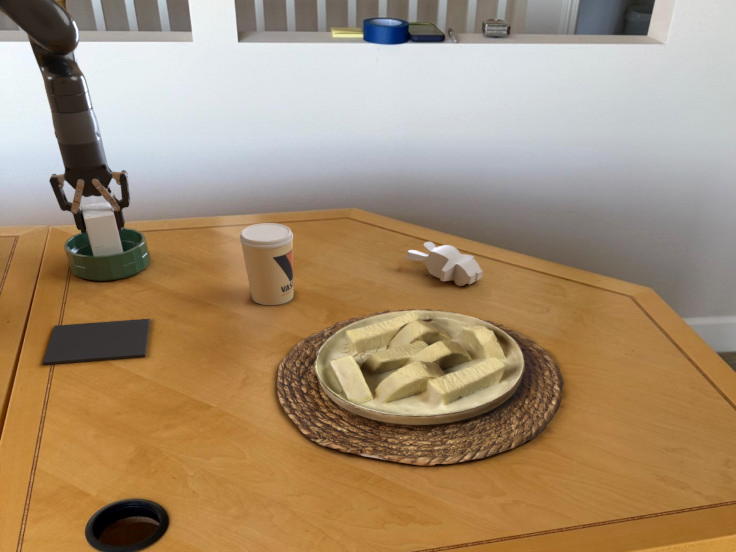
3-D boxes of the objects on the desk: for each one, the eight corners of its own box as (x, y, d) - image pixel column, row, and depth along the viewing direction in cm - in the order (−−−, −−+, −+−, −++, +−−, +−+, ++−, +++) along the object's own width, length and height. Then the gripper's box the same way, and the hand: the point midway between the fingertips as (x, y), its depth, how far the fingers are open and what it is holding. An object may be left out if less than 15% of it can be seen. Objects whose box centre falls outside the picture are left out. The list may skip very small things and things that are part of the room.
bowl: (66, 285, 147) (58, 259, 144) (76, 253, 158) (69, 229, 155) (148, 279, 149) (142, 254, 146) (152, 249, 161) (147, 224, 157)
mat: (43, 365, 125) (42, 362, 124) (55, 328, 134) (54, 325, 134) (145, 357, 127) (144, 354, 127) (149, 321, 137) (149, 318, 136)
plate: (576, 333, 134) (582, 296, 129) (539, 495, 102) (546, 455, 98) (331, 301, 143) (329, 266, 138) (228, 441, 111) (220, 402, 107)
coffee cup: (290, 309, 140) (284, 243, 132) (241, 305, 141) (232, 239, 133) (303, 287, 147) (298, 223, 139) (256, 284, 148) (248, 220, 140)
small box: (127, 269, 152) (114, 214, 145) (97, 273, 150) (83, 218, 143) (122, 254, 157) (110, 201, 150) (94, 258, 156) (80, 204, 149)
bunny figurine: (463, 273, 143) (402, 243, 149) (459, 298, 146) (399, 268, 153) (493, 258, 148) (433, 229, 154) (488, 282, 152) (430, 254, 158)
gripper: (122, 129, 142) (141, 221, 153) (40, 132, 140) (66, 225, 151) (118, 140, 136) (139, 235, 148) (33, 144, 134) (60, 240, 146)
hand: (102, 230), depth 149 cm, fingers closed on small box, 6 cm apart
